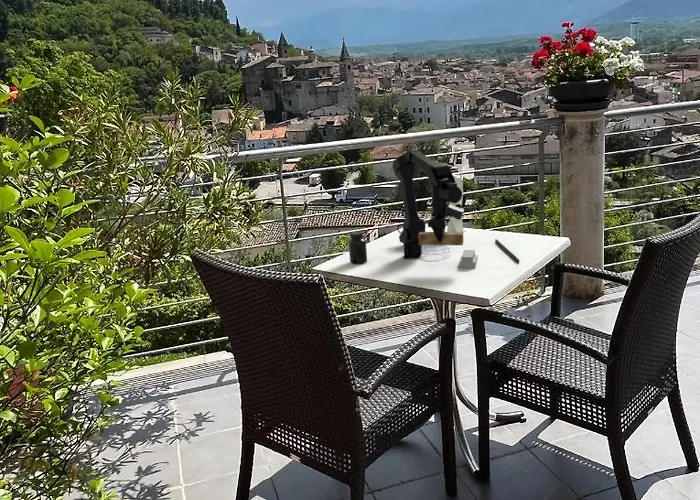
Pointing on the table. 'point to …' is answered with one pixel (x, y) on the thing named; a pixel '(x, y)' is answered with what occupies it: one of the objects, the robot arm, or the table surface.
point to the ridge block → (468, 259)
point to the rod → (507, 251)
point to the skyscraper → (454, 223)
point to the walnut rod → (447, 238)
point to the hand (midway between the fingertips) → (440, 240)
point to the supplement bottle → (357, 248)
